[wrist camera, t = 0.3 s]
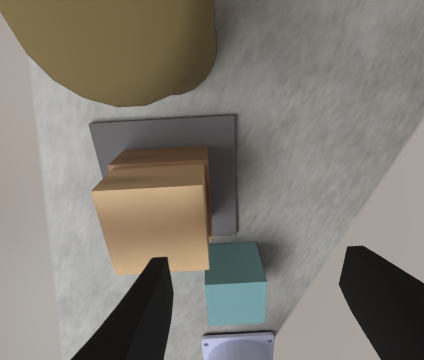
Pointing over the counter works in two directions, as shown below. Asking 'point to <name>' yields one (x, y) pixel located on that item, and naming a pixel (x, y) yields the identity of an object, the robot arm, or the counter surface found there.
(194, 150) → the walnut base block
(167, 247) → the oak top block
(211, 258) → the teal block
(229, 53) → the counter surface
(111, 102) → the cork
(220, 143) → the coaster mat
